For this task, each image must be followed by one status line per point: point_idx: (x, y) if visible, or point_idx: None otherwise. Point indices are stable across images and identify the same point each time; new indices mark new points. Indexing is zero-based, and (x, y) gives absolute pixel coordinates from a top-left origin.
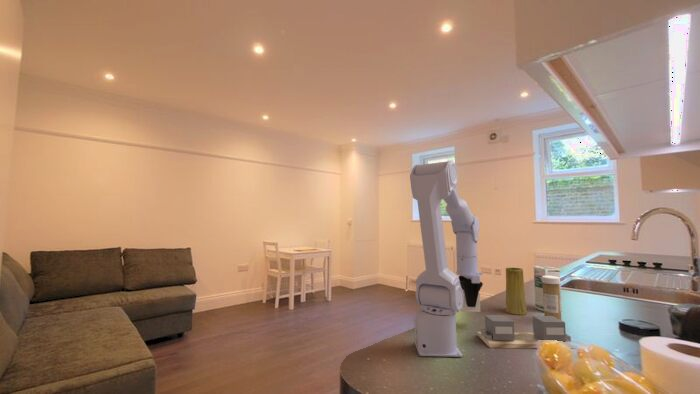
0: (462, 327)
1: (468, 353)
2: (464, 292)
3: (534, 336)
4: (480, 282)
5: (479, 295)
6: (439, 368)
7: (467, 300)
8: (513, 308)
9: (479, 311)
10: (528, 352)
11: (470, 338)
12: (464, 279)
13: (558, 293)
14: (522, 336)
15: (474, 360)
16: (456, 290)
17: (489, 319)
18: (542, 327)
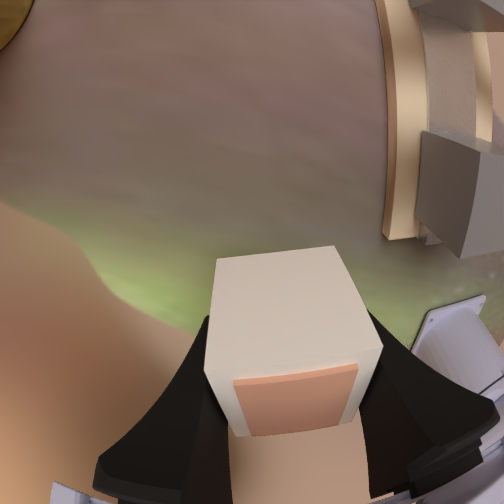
0: None
1: (475, 280)
2: (361, 419)
3: (441, 29)
4: (475, 437)
5: (375, 332)
6: (490, 323)
7: None
8: (7, 14)
9: (334, 251)
10: (499, 122)
11: (403, 262)
12: (216, 499)
13: None
14: (449, 78)
15: (497, 273)
16: None
17: (492, 249)
18: (502, 27)
